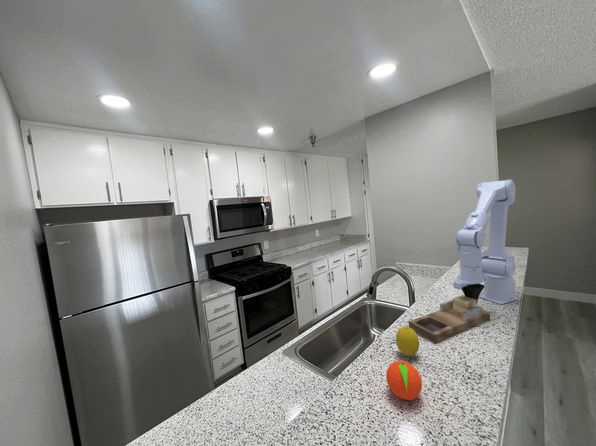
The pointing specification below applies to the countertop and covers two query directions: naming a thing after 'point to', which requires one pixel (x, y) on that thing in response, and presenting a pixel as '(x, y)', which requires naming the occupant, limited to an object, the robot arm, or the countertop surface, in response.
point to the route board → (445, 324)
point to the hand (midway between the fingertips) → (471, 305)
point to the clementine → (404, 380)
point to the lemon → (407, 341)
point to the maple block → (463, 303)
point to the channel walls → (465, 315)
